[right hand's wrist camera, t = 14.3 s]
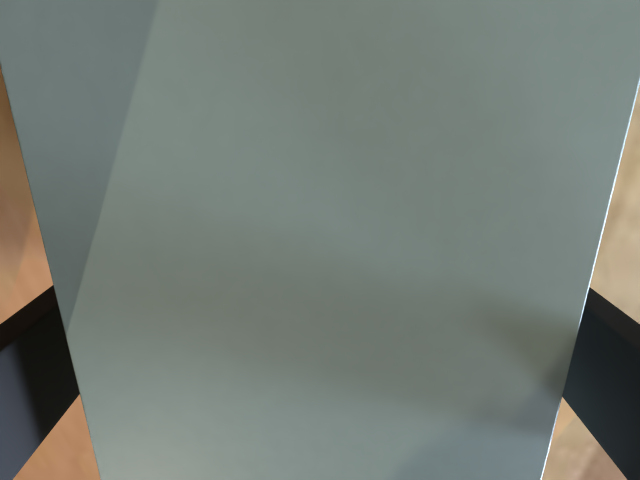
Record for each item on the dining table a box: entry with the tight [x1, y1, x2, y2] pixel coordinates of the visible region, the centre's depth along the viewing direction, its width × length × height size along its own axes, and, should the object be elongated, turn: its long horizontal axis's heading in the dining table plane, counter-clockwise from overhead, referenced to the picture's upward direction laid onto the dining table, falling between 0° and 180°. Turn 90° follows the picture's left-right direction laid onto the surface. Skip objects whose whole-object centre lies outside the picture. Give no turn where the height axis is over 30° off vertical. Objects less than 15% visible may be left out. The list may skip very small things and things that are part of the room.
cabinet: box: [0, 0, 640, 480], centre depth 12 cm, size 19×10×11 cm, turn 0°
